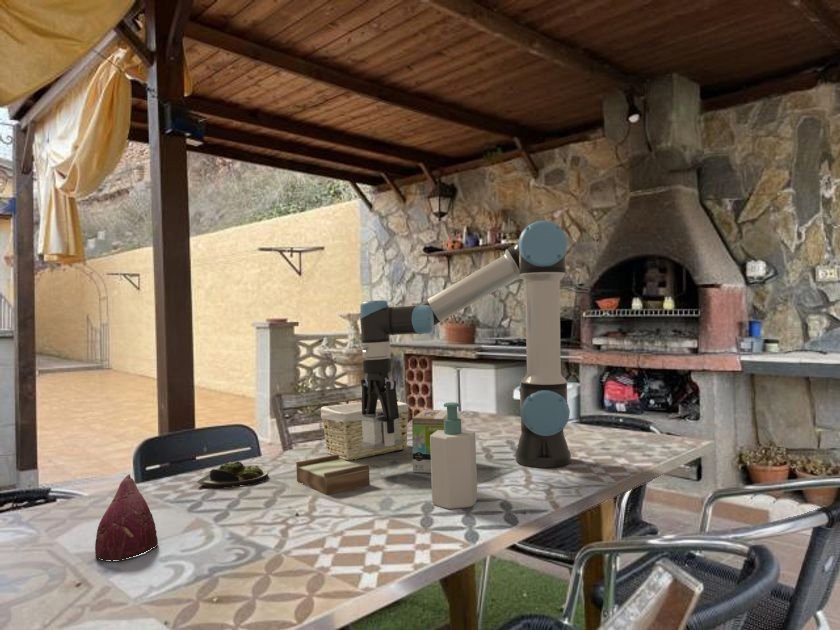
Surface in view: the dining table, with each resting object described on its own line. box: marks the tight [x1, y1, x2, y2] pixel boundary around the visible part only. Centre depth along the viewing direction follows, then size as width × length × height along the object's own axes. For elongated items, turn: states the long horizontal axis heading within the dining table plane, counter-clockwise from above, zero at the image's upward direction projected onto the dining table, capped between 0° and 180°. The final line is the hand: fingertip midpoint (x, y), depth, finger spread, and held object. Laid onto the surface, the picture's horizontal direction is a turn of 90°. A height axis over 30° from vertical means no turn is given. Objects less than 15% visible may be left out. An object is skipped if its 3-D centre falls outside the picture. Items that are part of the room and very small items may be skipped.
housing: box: [359, 412, 403, 450], centre depth 161 cm, size 7×9×9 cm
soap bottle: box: [430, 402, 478, 510], centre depth 133 cm, size 10×9×22 cm
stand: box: [295, 454, 371, 496], centre depth 152 cm, size 16×12×5 cm
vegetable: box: [94, 474, 159, 561], centre depth 112 cm, size 10×10×15 cm
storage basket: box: [320, 399, 409, 461], centre depth 187 cm, size 24×16×15 cm
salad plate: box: [196, 460, 269, 489], centre depth 161 cm, size 19×18×5 cm
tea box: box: [411, 409, 447, 474], centre depth 166 cm, size 15×10×15 cm
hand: (381, 443), depth 161 cm, fingers closed on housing, 7 cm apart
